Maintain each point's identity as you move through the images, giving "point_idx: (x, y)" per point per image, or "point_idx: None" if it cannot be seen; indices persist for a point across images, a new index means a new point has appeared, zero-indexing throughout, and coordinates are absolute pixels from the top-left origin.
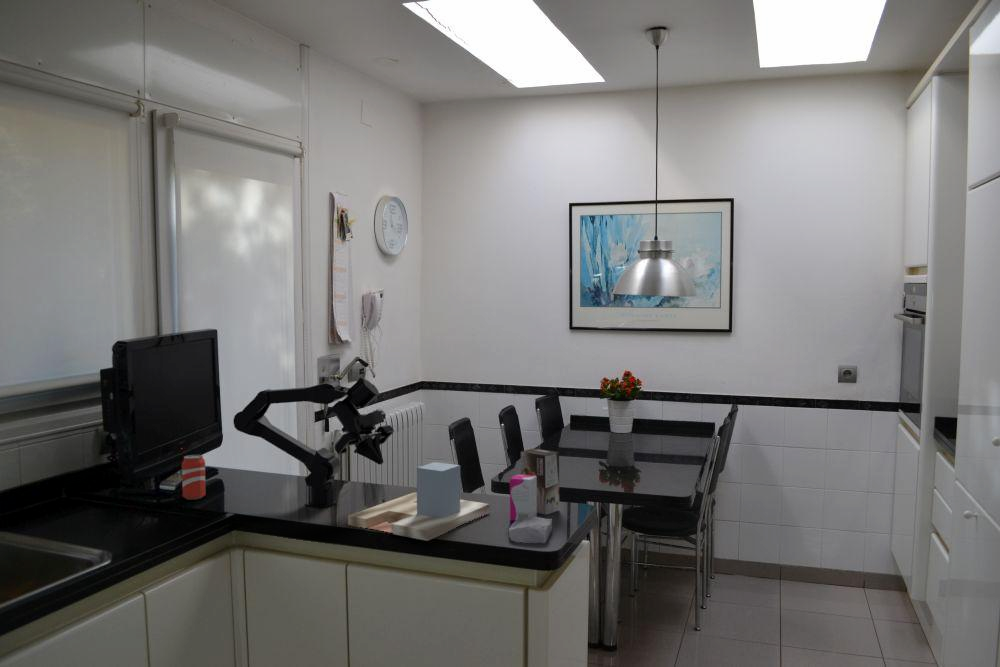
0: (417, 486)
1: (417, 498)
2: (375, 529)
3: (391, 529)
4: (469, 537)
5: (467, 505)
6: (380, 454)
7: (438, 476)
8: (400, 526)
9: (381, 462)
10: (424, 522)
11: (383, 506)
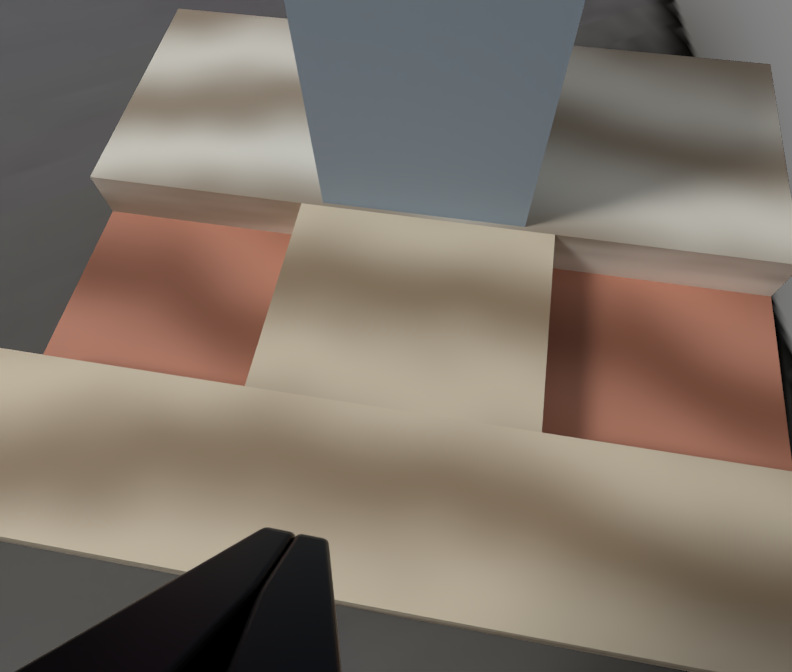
0: (568, 63)
1: (545, 145)
2: (785, 413)
3: (779, 286)
4: (590, 4)
5: (236, 76)
6: (171, 618)
7: None
8: (789, 209)
9: (327, 543)
10: (658, 126)
11: (451, 541)
